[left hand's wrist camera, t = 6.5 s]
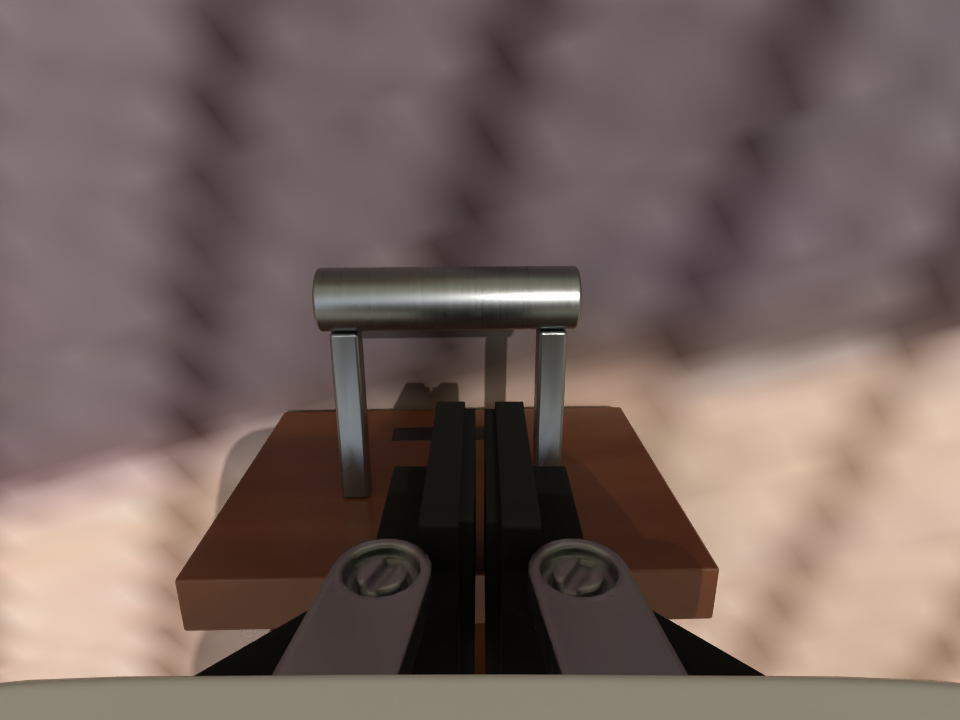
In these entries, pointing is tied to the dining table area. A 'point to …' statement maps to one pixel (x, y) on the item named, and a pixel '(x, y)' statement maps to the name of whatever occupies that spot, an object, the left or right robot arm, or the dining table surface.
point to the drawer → (406, 442)
